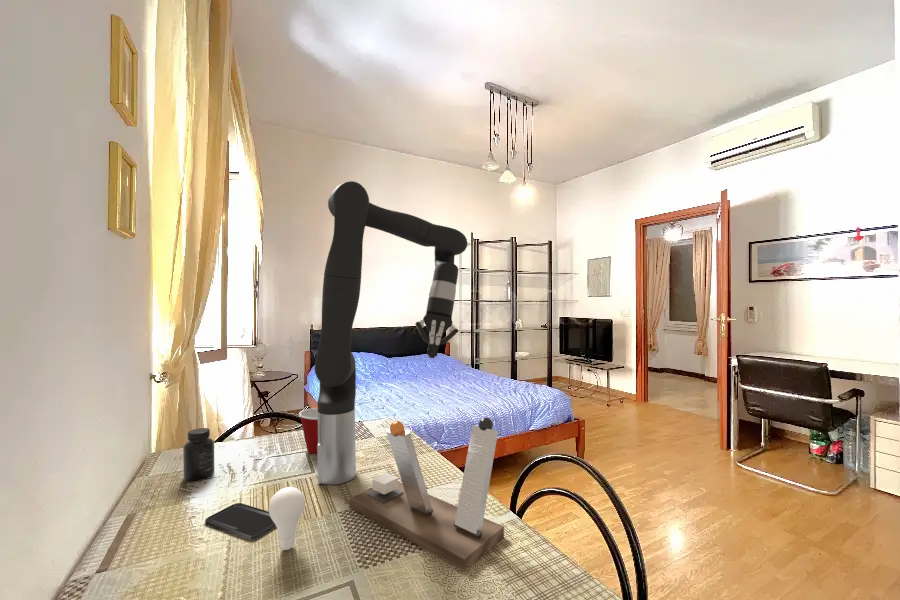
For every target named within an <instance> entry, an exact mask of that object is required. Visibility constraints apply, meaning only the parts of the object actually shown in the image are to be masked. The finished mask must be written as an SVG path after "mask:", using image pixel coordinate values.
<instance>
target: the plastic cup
mask: <svg viewBox="0 0 900 600" xmlns="http://www.w3.org/2000/svg"><path fill="white" fill-rule="evenodd" d="M298 416H299V418H300V421H301V425H302V431H303V437H304V442H305V445H306V451H307V453H308V455H317V445H318V407H315V408H314V407H313V408H307V409H303V410H300V411H299V413H298Z"/></svg>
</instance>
